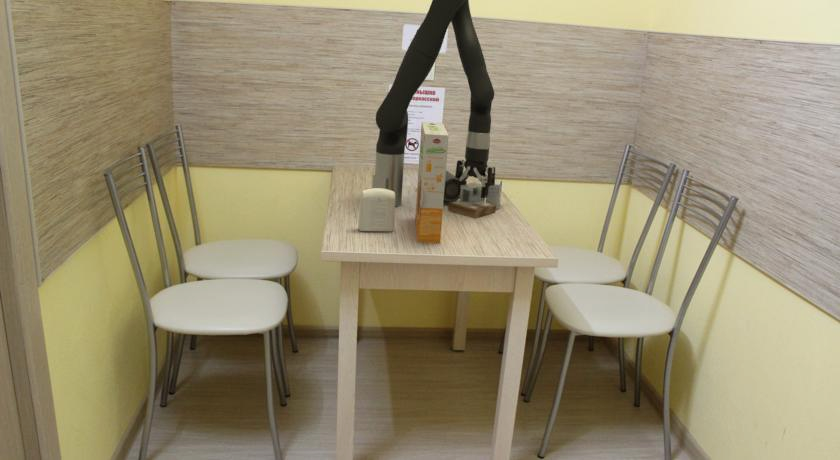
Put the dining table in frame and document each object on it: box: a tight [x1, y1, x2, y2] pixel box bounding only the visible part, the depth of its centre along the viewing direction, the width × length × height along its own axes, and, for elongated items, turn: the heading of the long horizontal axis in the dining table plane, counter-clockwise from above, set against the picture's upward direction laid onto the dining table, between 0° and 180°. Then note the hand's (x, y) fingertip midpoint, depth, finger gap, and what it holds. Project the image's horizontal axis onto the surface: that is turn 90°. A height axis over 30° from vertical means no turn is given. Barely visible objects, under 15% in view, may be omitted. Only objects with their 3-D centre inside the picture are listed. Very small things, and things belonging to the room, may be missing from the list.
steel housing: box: [458, 182, 486, 207], centre depth 220 cm, size 7×5×6 cm
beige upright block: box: [358, 188, 396, 232], centre depth 193 cm, size 10×4×12 cm, turn 103°
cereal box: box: [414, 121, 450, 244], centre depth 193 cm, size 22×6×30 cm, turn 2°
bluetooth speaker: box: [443, 170, 460, 203], centre depth 236 cm, size 23×9×10 cm, turn 20°
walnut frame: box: [447, 200, 496, 219], centre depth 221 cm, size 11×11×3 cm
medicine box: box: [485, 178, 503, 211], centre depth 228 cm, size 8×4×9 cm, turn 168°
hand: (473, 195), depth 220 cm, fingers open, 8 cm apart
